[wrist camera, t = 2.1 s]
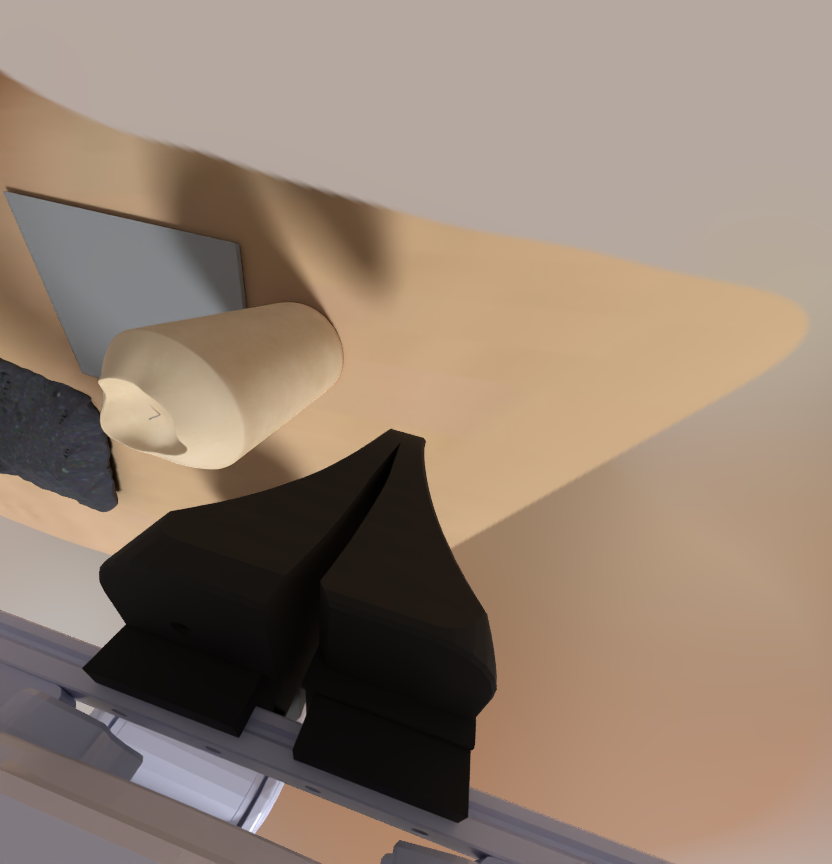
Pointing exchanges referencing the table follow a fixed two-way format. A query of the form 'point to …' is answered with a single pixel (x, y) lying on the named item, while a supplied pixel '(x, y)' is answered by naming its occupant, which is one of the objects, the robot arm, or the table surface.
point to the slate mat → (123, 273)
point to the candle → (216, 381)
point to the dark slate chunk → (54, 438)
